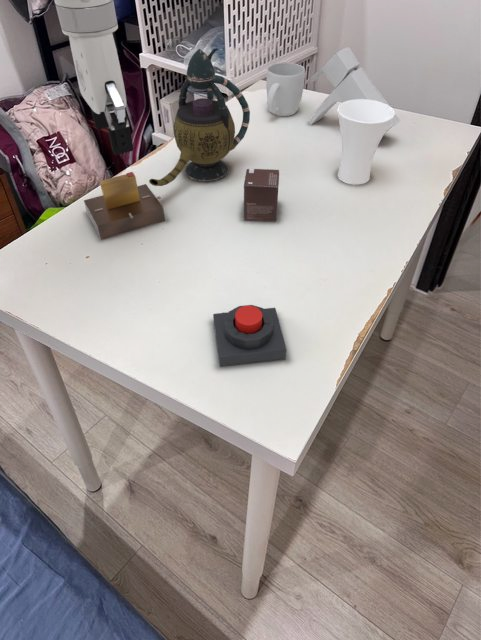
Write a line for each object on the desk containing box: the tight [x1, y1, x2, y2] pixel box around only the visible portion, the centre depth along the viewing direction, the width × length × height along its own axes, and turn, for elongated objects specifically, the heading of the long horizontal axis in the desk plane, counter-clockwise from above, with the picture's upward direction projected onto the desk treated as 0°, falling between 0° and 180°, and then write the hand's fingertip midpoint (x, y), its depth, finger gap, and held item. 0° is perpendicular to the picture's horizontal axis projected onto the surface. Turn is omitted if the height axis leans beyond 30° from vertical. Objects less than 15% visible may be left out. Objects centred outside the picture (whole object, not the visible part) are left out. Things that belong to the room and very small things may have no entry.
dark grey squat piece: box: [212, 304, 287, 368], centre depth 64 cm, size 9×8×4 cm
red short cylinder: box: [235, 305, 262, 334], centre depth 62 cm, size 4×4×2 cm
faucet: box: [309, 46, 401, 133], centre depth 107 cm, size 6×16×20 cm
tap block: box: [83, 183, 166, 241], centre depth 85 cm, size 12×10×3 cm
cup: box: [337, 99, 396, 186], centre depth 91 cm, size 10×10×14 cm
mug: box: [265, 61, 306, 117], centre depth 113 cm, size 13×9×10 cm
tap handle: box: [99, 171, 140, 210], centre depth 82 cm, size 6×1×5 cm, turn 118°
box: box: [243, 168, 280, 223], centre depth 84 cm, size 6×6×7 cm
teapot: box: [148, 48, 251, 187], centre depth 87 cm, size 12×25×23 cm, turn 146°
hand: (114, 139), depth 75 cm, fingers open, 9 cm apart
